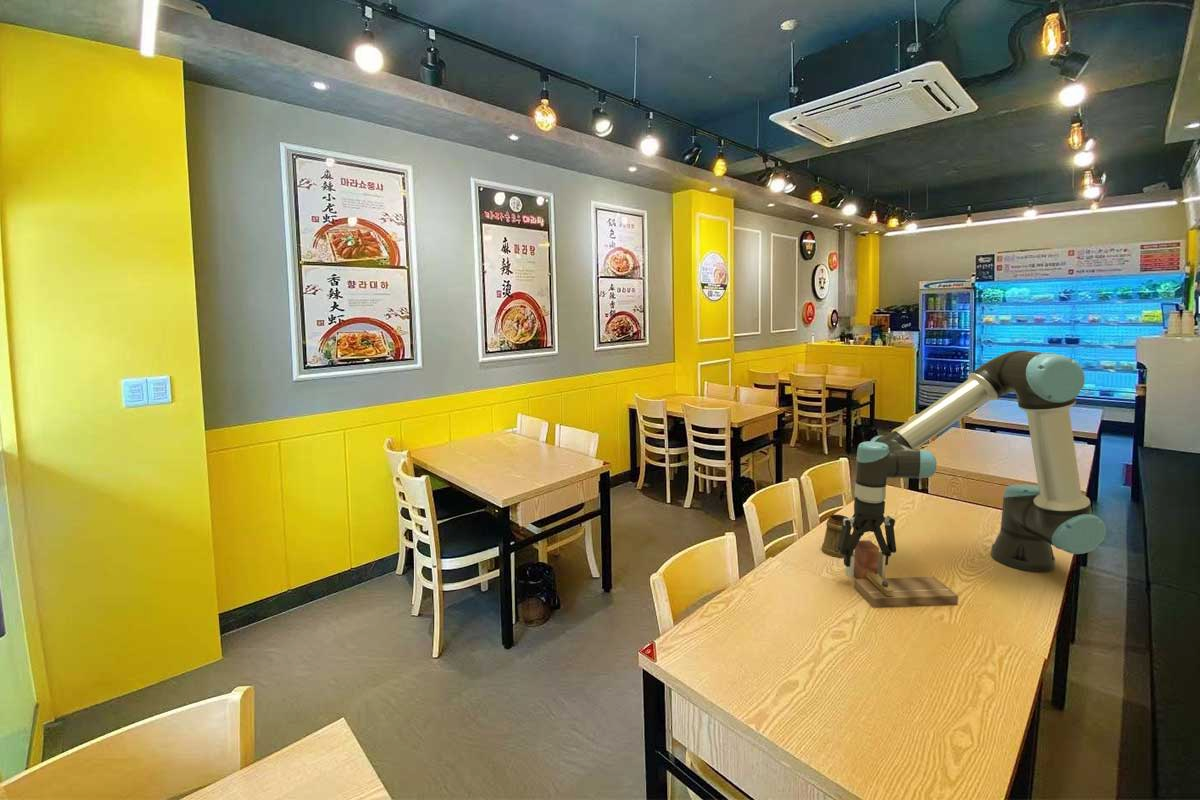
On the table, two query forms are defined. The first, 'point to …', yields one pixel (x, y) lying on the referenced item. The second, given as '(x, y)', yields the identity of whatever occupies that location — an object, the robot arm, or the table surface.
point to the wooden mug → (833, 535)
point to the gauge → (869, 565)
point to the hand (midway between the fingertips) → (864, 575)
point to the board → (907, 592)
